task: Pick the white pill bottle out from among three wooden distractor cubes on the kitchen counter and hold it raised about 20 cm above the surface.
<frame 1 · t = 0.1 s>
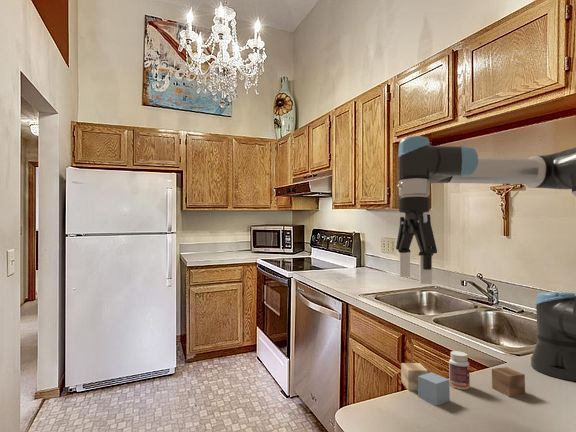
hand: (414, 279, 88), 28 cm above the counter, fingers open, 13 cm apart
walnut cube: (508, 391, 87), on the counter
pill bottle: (459, 386, 90), on the counter
slate blue cube: (433, 399, 83), on the counter
maple cube: (414, 386, 90), on the counter
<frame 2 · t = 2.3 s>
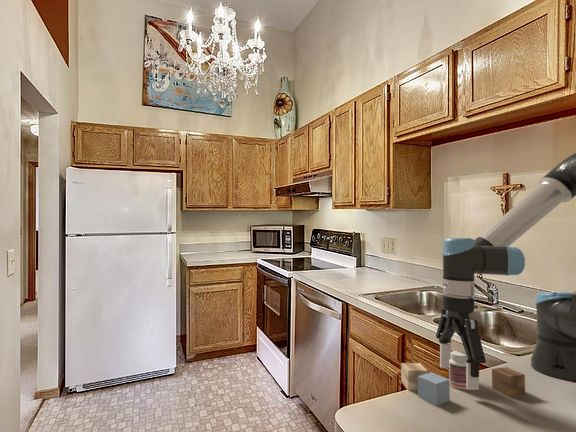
hand: (457, 377, 90), 2 cm above the counter, fingers open, 13 cm apart
nothing on the counter moved.
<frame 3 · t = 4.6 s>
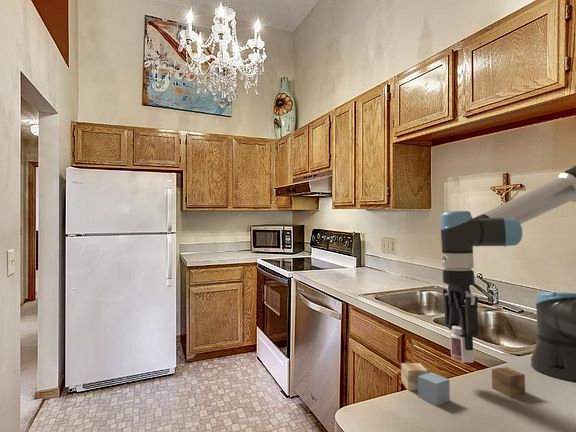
hand: (462, 358, 90), 7 cm above the counter, fingers closed on pill bottle, 5 cm apart
pill bottle: (461, 360, 90), point 7 cm above the counter, touching gripper
everything else where it was.
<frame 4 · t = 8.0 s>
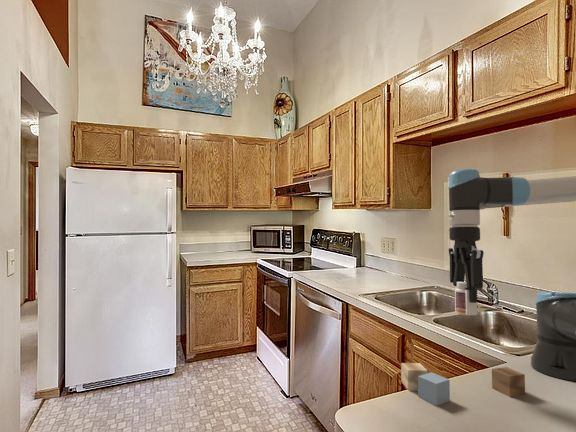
hand: (465, 312, 93), 19 cm above the counter, fingers closed on pill bottle, 5 cm apart
pill bottle: (465, 314, 93), point 18 cm above the counter, touching gripper
everything else where it was.
at the end: the gripper is holding pill bottle; pill bottle point 18.1 cm above the counter; walnut cube moved 0.1 cm from its start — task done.
